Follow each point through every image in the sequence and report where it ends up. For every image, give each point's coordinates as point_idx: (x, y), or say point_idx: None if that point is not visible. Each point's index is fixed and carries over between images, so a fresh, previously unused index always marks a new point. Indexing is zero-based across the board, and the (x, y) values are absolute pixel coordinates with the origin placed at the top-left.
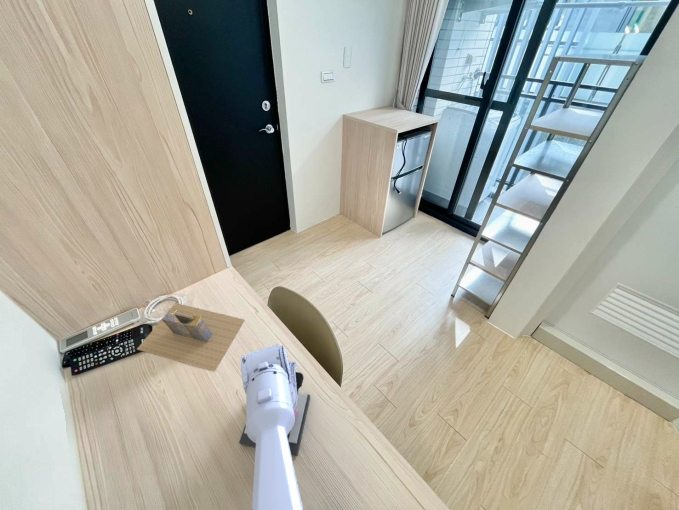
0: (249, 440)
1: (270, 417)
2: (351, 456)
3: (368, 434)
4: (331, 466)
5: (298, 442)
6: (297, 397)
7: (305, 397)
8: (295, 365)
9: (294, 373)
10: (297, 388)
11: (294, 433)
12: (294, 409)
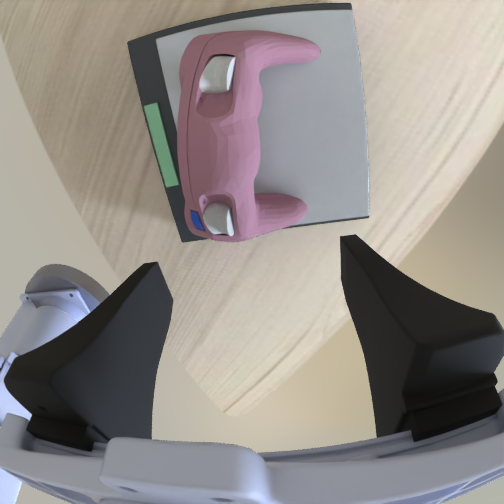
0: (146, 71)
1: None
2: (243, 337)
3: (298, 354)
4: (206, 308)
5: None
6: (351, 184)
7: (357, 213)
8: (500, 475)
9: (446, 500)
10: (373, 396)
11: None
12: (300, 213)
